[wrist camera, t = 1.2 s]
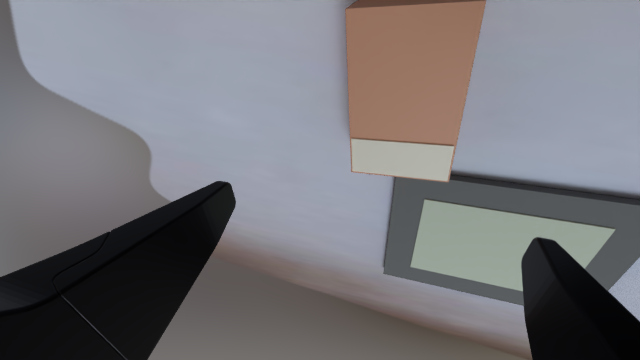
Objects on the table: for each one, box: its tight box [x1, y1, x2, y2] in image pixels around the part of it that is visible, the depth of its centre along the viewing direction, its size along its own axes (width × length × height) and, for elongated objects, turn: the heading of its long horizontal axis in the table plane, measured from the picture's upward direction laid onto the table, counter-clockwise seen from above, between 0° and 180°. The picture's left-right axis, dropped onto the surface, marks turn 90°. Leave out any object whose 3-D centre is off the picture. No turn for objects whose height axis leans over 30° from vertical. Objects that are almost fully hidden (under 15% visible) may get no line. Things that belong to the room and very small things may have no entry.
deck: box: [345, 0, 486, 182], centre depth 17 cm, size 10×6×3 cm, turn 6°
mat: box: [383, 175, 640, 306], centre depth 23 cm, size 16×12×1 cm
